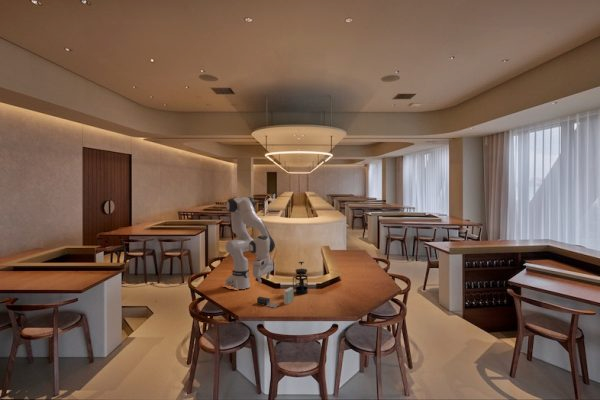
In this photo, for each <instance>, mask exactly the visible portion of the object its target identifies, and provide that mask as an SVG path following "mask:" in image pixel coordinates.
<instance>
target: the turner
mask: <svg viewBox="0 0 600 400" xmlns="http://www.w3.org/2000/svg"><path fill="white" fill-rule="evenodd" d="M270 300H271V298H269V297H263V296H258V297H257V299H256V303H260V304H259V305H261V304H264V305H263V306H265V307H266V306H269V307H268V308H271V307H273V308H272V309H276V308H277V306H278V307H279V306H280V303H277V302H271V301H270Z"/></svg>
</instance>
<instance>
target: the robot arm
mask: <svg viewBox="0 0 600 400" xmlns="http://www.w3.org/2000/svg"><path fill="white" fill-rule="evenodd" d="M255 205H256V202H255V199H254V198H253V197H250V196H247V197H246V196H245V197H244V196H243V197H242V196H241V197H235V198H229V199H227V201H226V205H225V207H226V210H227V211H228V212H230V215H231V216H230V218H231V219H230V222H231V231H232V232H233V233H234V234H235V235H236V236H237V238H235V239H231V240H229V241H227V242H226V244H225V251H226V252H227V253H228V255H230V256H231V258H232V260H233V269H232V270H231V275H230V276H228V277H227V278H226V279H225V283H224V284H225V285H227V286H231V287H234V288H237V289H243V288H248V287H250V286H251V284H250V277H249V275H250V269H249V259H248V258H247V257H246V256H244V253H245V252H250V253H251V254H253V255H254V254H255V255H256V257H255V259H254V260H253V261H252V263H251V264H252V277H254V278H257V280H258V281H257V282H258V284H259V283H260V284H261V283H262V279H261V278H262V276H264V275H265V279H266V280H269V279H270V275H271V272H272V271H274V263H273V260H272V258H271V256H270V253H272V252H273V251H274V250H275V247H276V243H275V240H274V238H272V236H271V235H270V232H269V230H268V228H267V226H266V224H265V222H264V221H263V219H262V218H260V217H259V216H258V215H257V212H256V209H255ZM247 226H248V227H252V228H255V229H258V231H259V232H260V234H261V235H258V236H256V238H255V239H254V238H252V236H250V234H249V232H248V230H247ZM250 288H251V287H250Z"/></svg>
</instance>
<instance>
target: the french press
mask: <svg viewBox="0 0 600 400" xmlns="http://www.w3.org/2000/svg"><path fill="white" fill-rule="evenodd" d="M304 263H305V262H304V261H299V262H298V264H300V268H297V269H295V274H297V275H296V276H294V277H292V288H293V290H295V292H294V293H295V294H296V295H307V294H308V293H309V290H308V287H309V286H308V283H309V281H308V275H306V274H307V272H308V269H306V268H303V264H304ZM294 280H296V281H299V282H294ZM304 281H306V282H304ZM294 284H295V285H294ZM294 286H295V287H294Z"/></svg>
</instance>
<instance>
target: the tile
mask: <svg viewBox="0 0 600 400" xmlns="http://www.w3.org/2000/svg"><path fill="white" fill-rule="evenodd" d="M293 301H294V289H293V286H290V287H288V288H287V289H285V290H283V304H284V305H285V306H286V305H289V304H291V302H293Z"/></svg>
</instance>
